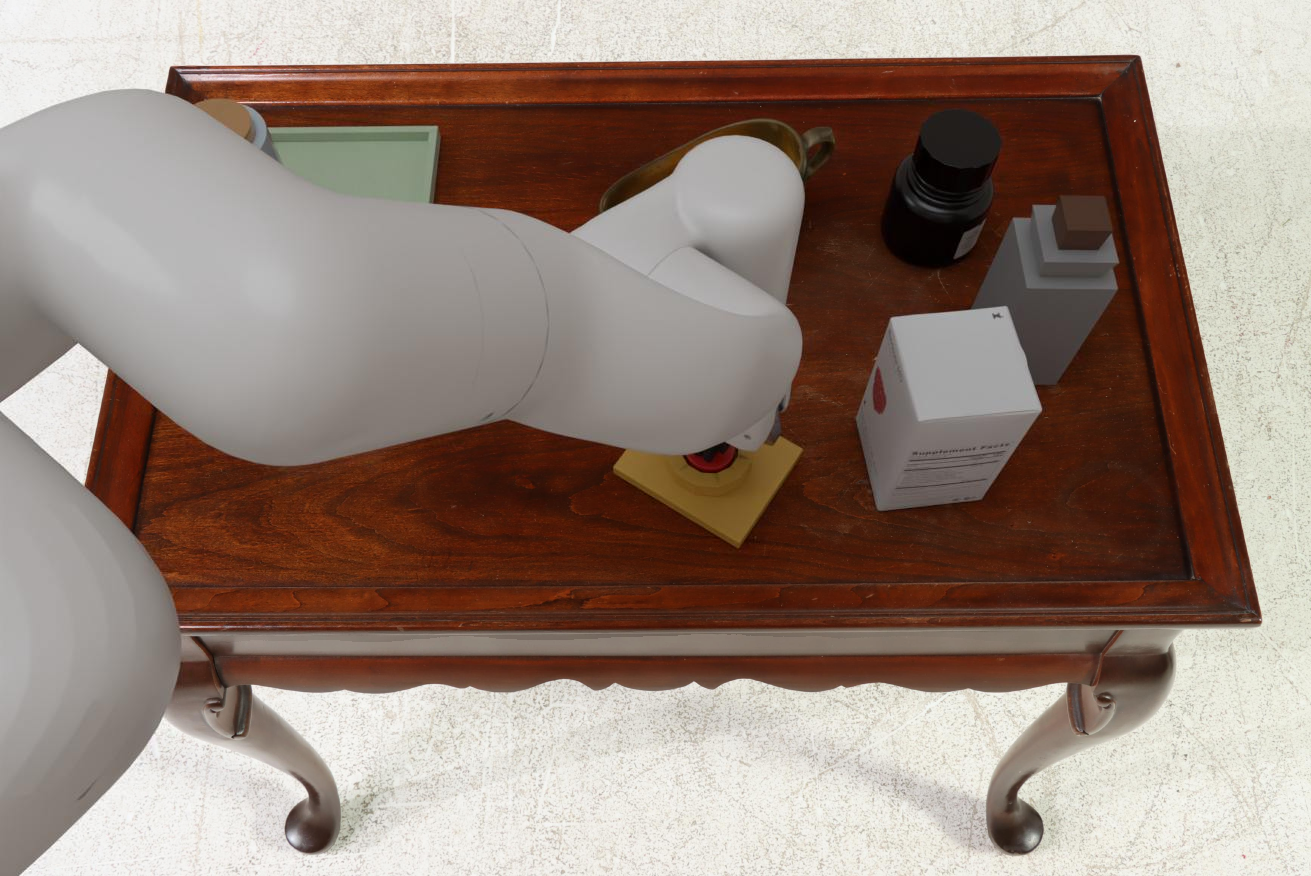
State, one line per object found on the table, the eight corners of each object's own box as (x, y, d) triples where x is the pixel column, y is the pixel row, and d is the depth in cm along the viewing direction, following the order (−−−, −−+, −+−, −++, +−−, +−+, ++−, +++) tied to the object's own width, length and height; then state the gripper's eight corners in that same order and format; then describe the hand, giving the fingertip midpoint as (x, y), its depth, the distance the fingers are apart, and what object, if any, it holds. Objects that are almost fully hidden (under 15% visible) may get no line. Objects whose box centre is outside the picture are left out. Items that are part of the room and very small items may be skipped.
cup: (821, 304, 92) (839, 230, 83) (599, 290, 93) (593, 215, 84) (821, 194, 98) (838, 114, 89) (613, 181, 99) (609, 101, 90)
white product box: (852, 416, 87) (887, 311, 73) (956, 406, 87) (1010, 300, 74) (874, 514, 82) (916, 422, 69) (984, 503, 83) (1046, 409, 70)
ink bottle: (980, 275, 94) (1022, 183, 83) (883, 272, 94) (912, 180, 83) (968, 193, 98) (1006, 97, 88) (876, 191, 98) (903, 94, 88)
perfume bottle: (1055, 385, 88) (1143, 250, 72) (976, 383, 88) (1047, 249, 72) (1042, 320, 91) (1123, 178, 76) (966, 319, 91) (1031, 177, 76)
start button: (716, 487, 82) (717, 477, 80) (674, 462, 83) (674, 452, 81) (742, 450, 83) (744, 440, 82) (701, 426, 84) (702, 415, 83)
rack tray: (413, 378, 88) (409, 368, 87) (203, 380, 88) (195, 370, 87) (441, 137, 102) (438, 125, 100) (258, 139, 101) (252, 127, 100)
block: (738, 549, 81) (741, 534, 78) (613, 473, 84) (611, 456, 81) (802, 455, 85) (806, 438, 82) (679, 386, 88) (680, 367, 85)
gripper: (594, 296, 66) (606, 433, 82) (797, 408, 62) (767, 529, 78) (659, 220, 69) (658, 367, 85) (856, 322, 65) (816, 456, 81)
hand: (711, 444), depth 82 cm, fingers closed
